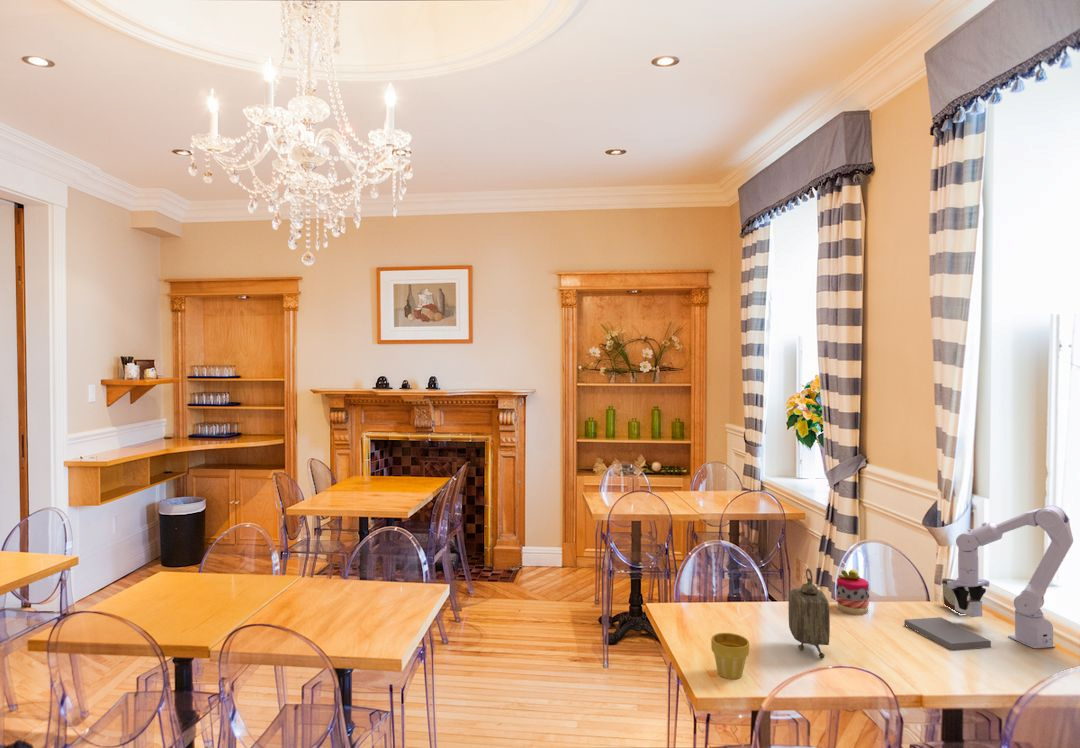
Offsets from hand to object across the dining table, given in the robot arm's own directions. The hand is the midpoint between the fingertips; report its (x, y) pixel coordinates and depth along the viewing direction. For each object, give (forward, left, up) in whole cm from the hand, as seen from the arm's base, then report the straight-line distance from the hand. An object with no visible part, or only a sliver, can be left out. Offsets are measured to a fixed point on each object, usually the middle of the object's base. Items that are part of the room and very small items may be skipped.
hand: (968, 608), depth 217 cm
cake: (+20, +29, -6) cm, 36 cm away
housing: (0, 0, -2) cm, 2 cm away
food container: (+13, -9, -6) cm, 17 cm away
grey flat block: (-6, +14, -6) cm, 16 cm away
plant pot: (-20, +96, -6) cm, 98 cm away
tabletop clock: (-9, +65, -6) cm, 66 cm away
